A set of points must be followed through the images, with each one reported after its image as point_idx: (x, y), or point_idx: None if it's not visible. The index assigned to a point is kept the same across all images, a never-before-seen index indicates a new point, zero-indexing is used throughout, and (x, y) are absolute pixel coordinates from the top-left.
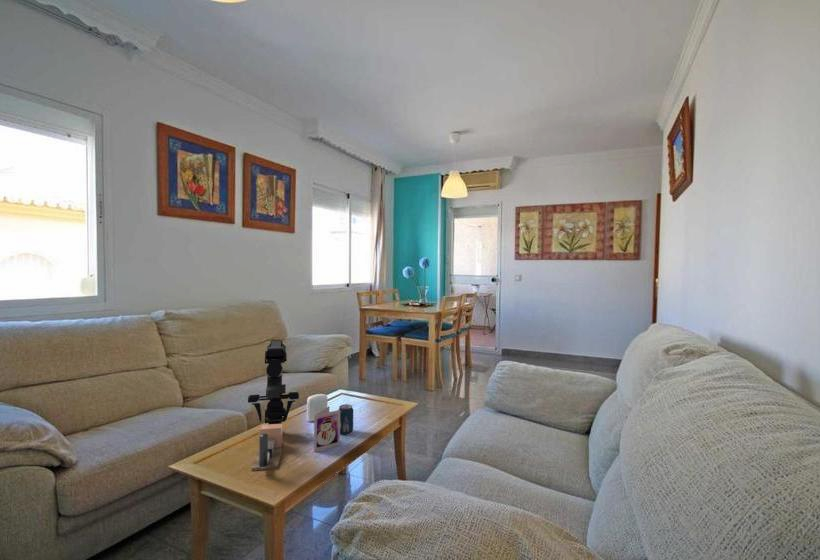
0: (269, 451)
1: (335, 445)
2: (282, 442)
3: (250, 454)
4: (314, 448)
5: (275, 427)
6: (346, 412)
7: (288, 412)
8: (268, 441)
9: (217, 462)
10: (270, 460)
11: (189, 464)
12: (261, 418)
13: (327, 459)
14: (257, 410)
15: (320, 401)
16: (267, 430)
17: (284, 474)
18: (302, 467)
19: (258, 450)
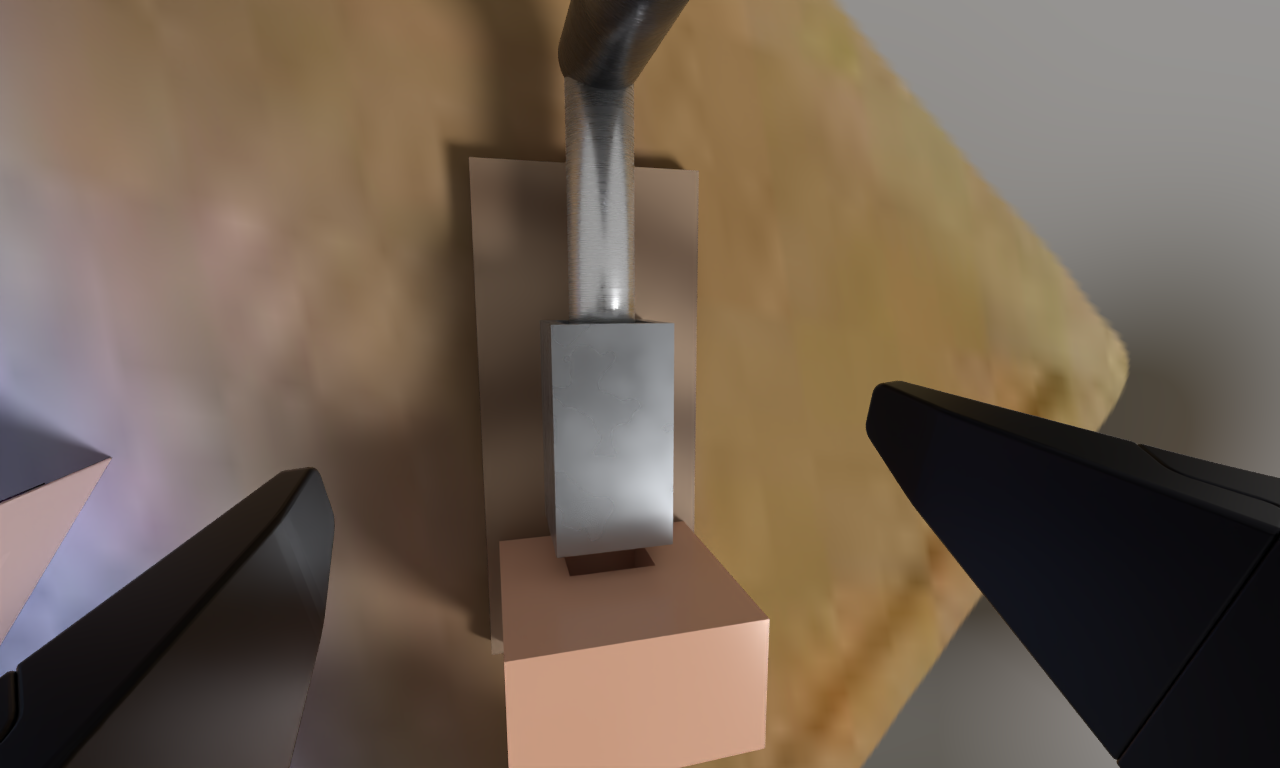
0: (582, 314)
1: None
2: (499, 642)
3: (741, 466)
4: (76, 471)
5: (587, 676)
6: None
7: (101, 607)
8: (626, 488)
9: (940, 365)
10: (555, 279)
11: (1084, 364)
12: (901, 482)
13: None
14: (1246, 472)
15: None
16: (678, 619)
17: (376, 17)
18: (193, 118)
19: (692, 492)
